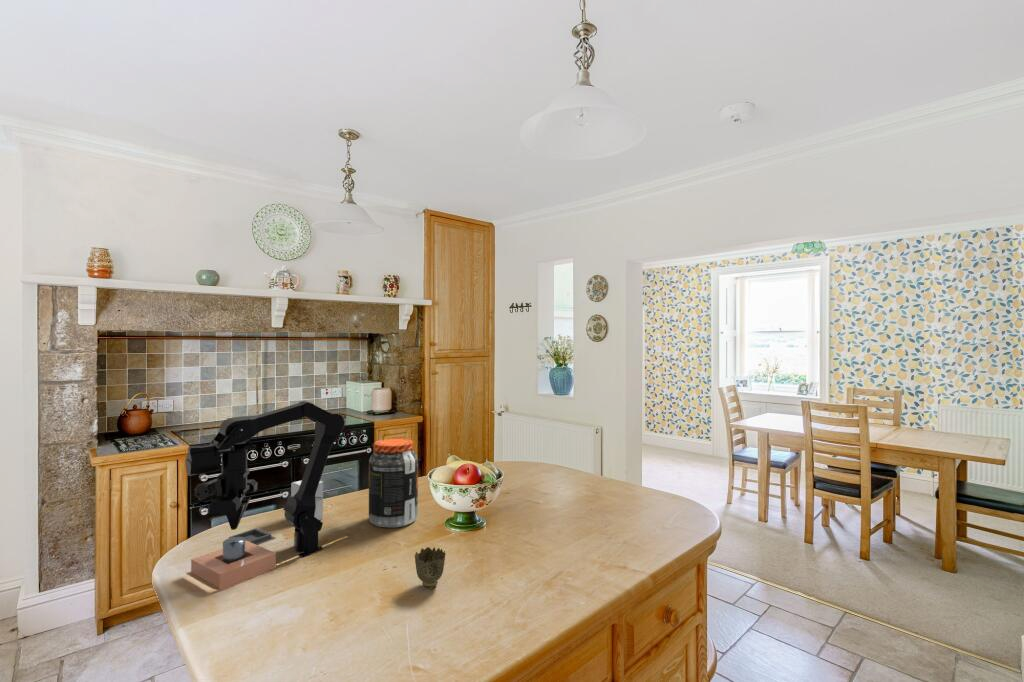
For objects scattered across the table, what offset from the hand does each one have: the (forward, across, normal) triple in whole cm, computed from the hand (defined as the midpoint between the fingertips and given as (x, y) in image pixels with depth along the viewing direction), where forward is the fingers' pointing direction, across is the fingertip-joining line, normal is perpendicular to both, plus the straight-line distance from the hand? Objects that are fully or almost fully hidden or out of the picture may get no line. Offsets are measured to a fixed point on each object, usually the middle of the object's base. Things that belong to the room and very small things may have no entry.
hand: (234, 529), depth 128 cm
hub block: (+11, 0, 0) cm, 11 cm away
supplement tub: (+11, -29, +39) cm, 50 cm away
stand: (+11, -18, -1) cm, 21 cm away
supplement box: (+11, -34, +11) cm, 38 cm away
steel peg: (+11, 0, 0) cm, 11 cm away
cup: (+11, +16, +49) cm, 53 cm away
